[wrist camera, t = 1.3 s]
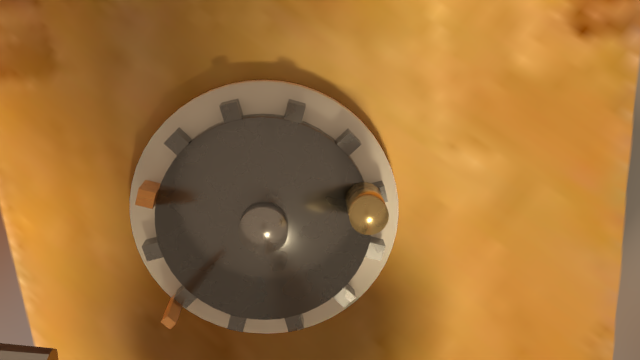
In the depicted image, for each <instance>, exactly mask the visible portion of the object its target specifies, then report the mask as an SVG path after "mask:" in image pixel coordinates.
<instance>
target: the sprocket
mask: <svg viewBox="0 0 640 360" xmlns="http://www.w3.org/2000/svg"><path fill="white" fill-rule="evenodd" d="M219 107H220V110H221V114H222V117H223V120H224V121H222V122H220V123H217V124H215V125H213V126H211V127H209V128H207V129H206V130H204V131H203V132H201V133H200V134H198V135H197V136H196V137H195V138H193V139H191V138H190V137H189V136H188V135H187V134H186V133H185V132H184V131H183V130H182V129H181V128H180V127H179V128H178V129H177V130H176V131H175V132H174V133H173V134H172V135H171V136H170V137H169V138H168V139H167V140H166V141H165V142H164V144H165V145H166V146H167V147H168V148H169V149H170V150H171V151H172V152H174V153H175V154H176V155H177V156H176V158H175V159H174V160H173V162H172V164H171V165H170V167H169V168H168V170H167V171H166V173H165V175H164V178H163V180H162V182H161V183H157V182H153V181H149V180H145V181H144V182H143V184H142V185H141V186H140V187H139V189H138V193H137V198H136V202H135V205H138V206H142V207H146V208H150V209H153V207H154V206H155V229H156V236H157V237H154V238H150V239H146V240H145V242H144V243H143V245H142V249H143V252H144V254H145V257H146V260H147V261H151V260H155V259H159V258H163V257H164V259H165V262H166V263H167V265H168V267H169V268H170V270H171V272H172V273H173V274H174V276H175V277H176V278H177V279H178V281H179V282H180V283H181V284H182V286H181V287H180V288H179V289H178V290H177V291H176V294H175V296H174V299H175V300H176V301H177V302H179V303H180V304H181V305H182V306H183V307H185V308H187V307H188V306H189V305H190V304H191V303H192V302H194V301H195V300H196V299H197V298H198V299H199V300H201V301H202V302H204V303H206V304H207V305H209V306H211V307H213V308H215V309H217V310H220V311H222V312H224V313H227V314H230V318H229V323H228V327H227V329H230V330H235V331H239V332H243V330H244V326H245V323H246V319H247V318H248V319H258V320H272V319H282V318H284V319H285V322H286V325H287V328H288V332H291V331H295V330H299V329H303V328H304V318H303V315H302V313H306V312H308V311H310V310H312V309H315V308H317V307H319V306H320V305H322V304H324V303H325V302H327V301H329V300H330V299H331V298H334V299H335V300H336V301H337V302H338V303H339V304H341V305H342V306H343V307H346V306H347V305H348V304H349V303H350V302H351V301H352V300H354V299H355V298H356V296H355V291H354V289H353V288H352V287H351V286H350V285H349V284H348V283H349V282H350V280H351V279H352V278H353V276H354V275H355V274H356V272H357V271H358V269H359V267H360V265H361V264H362V262H363V259H364V257H367V258H371V259H375V260H379V261H381V258H382V256H383V253H384V250H385V247H386V246H385V243H384V240H383V239H380V238H376V237H372V236H371V235H373V234H376V233H379V232H380V231H382V230H383V229H384V228H385V226H386V225H387V223H388V220H389V212H388V209H387V207H386V204H385V202H388V200H387V195H386V191H385V187H384V184H383V182H382V181H378V182H374V183H368V182H364V179H363V177H362V175H361V173H360V171H359V169H358V167H357V165H356V164H355V162H354V161H353V159H352V158H351V156H350V155H351V154H352V153H353V152H354V151H355V150H356V149H357V148H358V147H359V146H360V145H361V142H360V140H359V139H358V138H357V137H356V136H355V135H354V134H353V133H352V132H351V131H350V130H349V129H346V130H345V131H344V132H343V133H342V134H341V135H340V136H339V137H338V138H337V139H336V141H335V140H334V139H333V138H332V137H331V136H329V135H328V134H326V133H325V132H323V131H322V130H320V129H319V128H317V127H315V126H313V125H311V124H309V123H307V122H304V121H302V118H303V115H304V111H305V108H306V104H305V103H302V102H299V101H295V100H291V99H288V103H287V107H286V111H285V114H284V116H282V115H276V114H249V115H244V116H243V113H242V109H241V106H240V102H239V99H234V100H230V101H226V102H222V103H221V104H220V106H219ZM155 204H156V205H155Z"/></svg>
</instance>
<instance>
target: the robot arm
mask: <svg viewBox="0 0 640 360" xmlns="http://www.w3.org/2000/svg"><path fill="white" fill-rule="evenodd" d="M0 360H58V353H57V349H53V348H43V347H33V346H23V345H13V344H2V343H0Z"/></svg>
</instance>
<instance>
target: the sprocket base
mask: <svg viewBox="0 0 640 360" xmlns="http://www.w3.org/2000/svg"><path fill="white" fill-rule="evenodd" d="M234 99H239V102H240V106H241V109H242V113H243V116H244V115H249V114H276V115H282V116H284V114H285V111H286V107H287V103H288V99H291V100H295V101H299V102H302V103H305V104H306V108H305V111H304V115H303V118H302V121H304V122H307V123H309V124H311V125H313V126H315V127H317V128H319V129H320V130H322V131H323V132H325V133H326V134H328V135H329V136H331V137H332V138H333V139H334V140H335V141H336V139H337V138H338V137H339V136H340V135H341V134H342V133H343V132H344V131H345V130H346V129H349V130H350V131H351V132H352V133H353V134H354V135H355V136H356V137H357V138H358V139H359V140H360V142H361V145H360V146H359V147H358V148H357V149H356V150H355V151H354V152H353V153H352V154H351V155H350V156H351V158H352V159H353V161H354V162H355V164H356V165H357V167H358V169H359V171H360V173H361V175H362V177H363V179H364V182H368V183H374V182H378V181H382V182H383V184H384V187H385V191H386V195H387V200H388V202H385V204H386V207H387V209H388V212H389V220H388V223H387V225H386V226H385V228H384V229H383V230H382V231H380V232H379V233H376V234H373V235H371V236H372V237H376V238H380V239H383V240H384V243H385V246H386V247H385V250H384V253H383V256H382V258H381V261H379V260H375V259H371V258H367V257H364V259H363V262H362V264H361V265H360V267H359V269H358V271H357V272H356V274H355V275H354V276H353V278H352V279H351V280H350V282H349V283H348V284H349V285H350V286H351V287H352V288H353V289H354V291H355V296H356V298H355V299H354V300H352V301H351V302H350V303H349V304H348V305H347V306H346V307H343V306H342V305H341V304H339V303H338V302H337V301H336V300H335V299H334V298H331V299H330V300H329V301H327V302H325V303H324V304H322V305H320V306H319V307H317V308H315V309H312V310H310V311H308V312H306V313H302V315H303V318H304V328H307V327H310V326H313V325H316V324H318V323H321V322H323V321H325V320H328V319H330V318H332V317H333V316H335V315H337V314H338V313H340V312H342V311H343V310H345V309H346V308H347V307H349V306H350V305H351V304H353V303H354V302H355V301H357V300H358V299H359V298H360V297H361V296H362V295H363V294H364V293H365V292H366V291H367V290H368V289H369V287H370V286H371V285H372V283H373V282H374V281H375V280H376V278H377V277H378V275H379V274H380V272H381V270H382V269H383V267H384V265H385V264H386V262H387V259H388V257H389V254H390V252H391V250H392V247H393V243H394V240H395V236H396V232H397V224H398V195H397V188H396V183H395V179H394V176H393V173H392V169H391V167H390V164H389V162H388V160H387V158H386V156H385V154H384V151H383V150H382V148H381V146H380V145H379V143H378V141H377V140H376V138H375V137H374V135H373V134H372V132H371V131H370V130H369V129H368V128H367V126H366V125H365V124H364V123H363V122H362V121H361V120H360V119H359V118H358V117H357V116H356V115H355V114H354V113H353V112H352V111H350V110H349V109H348V108H347V107H345V106H344V105H342V104H341V103H339V102H338V101H336V100H335V99H333V98H332V97H330V96H328V95H326V94H324V93H322V92H320V91H318V90H315V89H312V88H309V87H306V86H303V85H300V84H296V83H291V82H286V81H279V80H265V79H263V80H246V81H241V82H236V83H230V84H226V85H223V86H220V87H217V88H214V89H211V90H209V91H207V92H205V93H203V94H201V95H199V96H197V97H195V98H194V99H192V100H191V101H189V102H188V103H186V104H185V105H183V106H182V107H180V108H179V109H178V110H177V111H176V112H175V113H174V114H172V115H171V116H170V117H169V118H168V119H167V120H166V121H165V122H164V123H163V124H162V125H161V127H160V128H159V129H158V130H157V131H156V132H155V134H154V135H153V136H152V138H151V139H150V141H149V142H148V144H147V146H146V147H145V149H144V150H143V152H142V155H141V157H140V159H139V162H138V164H137V166H136V169H135V173H134V177H133V180H132V185H131V193H130V220H131V227H132V233H133V236H134V239H135V243H136V246H137V249H138V251H139V253H140V256H141V258H142V260H143V262H144V264H145V266H146V267H147V269H148V270H149V272H150V274H151V275H152V277H153V278H154V279H155V281H156V282H157V283H158V284H159V285H160V287H161V288H162V289H163V290H164V291H165V292H166V293H167V294H168V295H169V296H170V297H171V298H170V300H169V303H168V305H167V308H166V310H165V313H164V315H163V318H162V320H161V323H162V324H164V325H165V326H166V327H167V328H168V329H171V328H172V327H173V326H174V325H175V324H176V323H177V320H178V317H179V314H180V312H181V309H182V307H183V306H182V305H181V304H180V303H179V302H177V301H176V300H175V299H174V296H175V294H176V291H177V290H178V289H179V288H180V287H181V286H182V284H181V283H180V282H179V281H178V279H177V278H176V277H175V276H174V274H173V273H172V272H171V270H170V268H169V267H168V265H167V263H166V262H165V259H164V257H163V258H159V259H155V260H151V261H147V260H146V257H145V254H144V252H143V249H142V245H143V243H144V242H145V240H146V239H150V238H154V237H157V236H156V229H155V206H154V207H153V209H150V208H146V207H142V206H138V205H135V202H136V198H137V193H138V189H139V187H140V186H141V185H142V184H143V182H144V181H145V180H149V181H153V182H157V183H161V182H162V180H163V178H164V175H165V173H166V171H167V170H168V168H169V167H170V165H171V164H172V162H173V160H174V159H175V158H176V156H177V155H176V154H175V153H174V152H172V151H171V150H170V149H169V148H168V147H167V146H166V145H165V144H164V142H165V141H166V140H167V139H168V138H169V137H170V136H171V135H172V134H173V133H174V132H175V131H176V130H177V129H178V128H179V127H180V128H181V129H182V130H183V131H184V132H185V133H186V134H187V135H188V136H189V137H190V138H191V139H193V138H195V137H196V136H197V135H198V134H200V133H201V132H203V131H204V130H206V129H207V128H209V127H211V126H213V125H215V124H217V123H220V122H222V121H224V120H223V117H222V114H221V110H220V107H219V106H220V104H221V103H222V102H226V101H230V100H234ZM155 205H156V204H155ZM184 308H185V307H184ZM185 309H186V310H188V311H189V312H191V313H193V314H195V315H196V316H198V317H200V318H202V319H204V320H206V321H209V322H211V323H213V324H216V325H218V326H221V327H225V328H227V327H228V323H229V318H230V314H227V313H224V312H222V311H220V310H217V309H215V308H213V307H211V306H209V305H207V304H206V303H204V302H202V301H201V300H199V299H198V298H197V299H196V300H195V301H194V302H192V303H191V304H190V305H189V306H188V307H187V308H185ZM299 330H300V329H299ZM243 332H248V333H263V334H270V333H284V332H288V328H287V325H286V322H285V319H284V318H282V319H272V320H258V319H248V318H247V319H246V323H245V326H244V330H243Z"/></svg>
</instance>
